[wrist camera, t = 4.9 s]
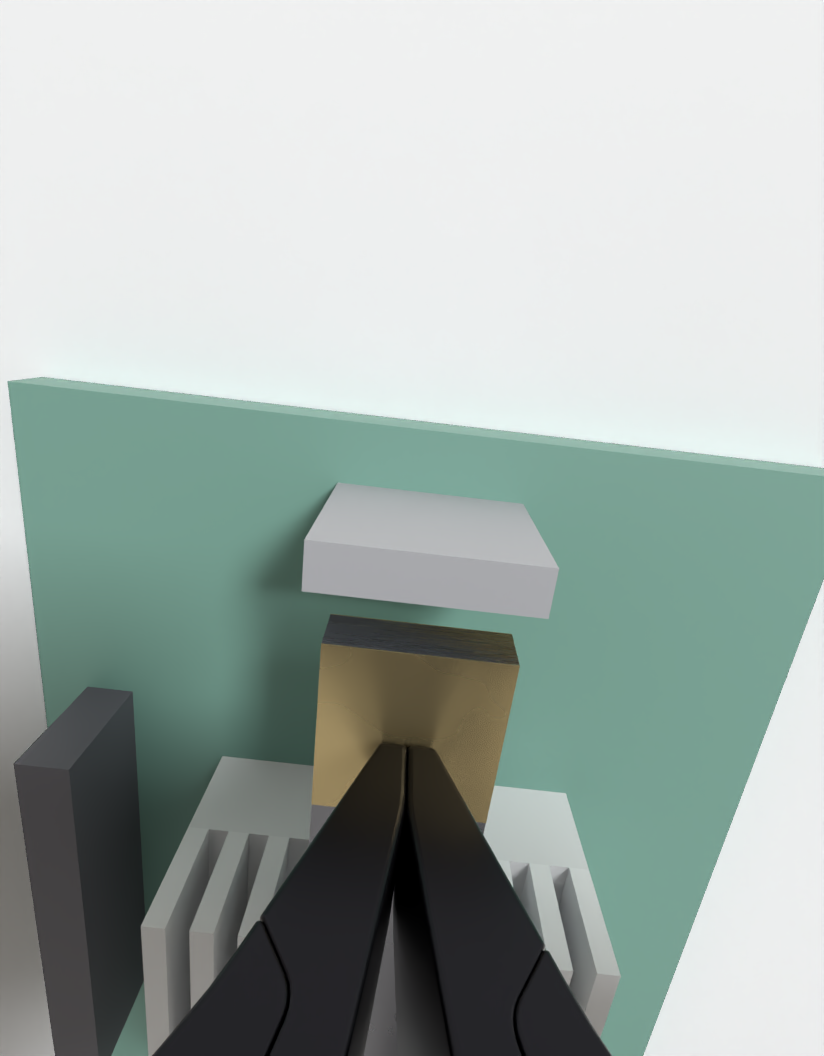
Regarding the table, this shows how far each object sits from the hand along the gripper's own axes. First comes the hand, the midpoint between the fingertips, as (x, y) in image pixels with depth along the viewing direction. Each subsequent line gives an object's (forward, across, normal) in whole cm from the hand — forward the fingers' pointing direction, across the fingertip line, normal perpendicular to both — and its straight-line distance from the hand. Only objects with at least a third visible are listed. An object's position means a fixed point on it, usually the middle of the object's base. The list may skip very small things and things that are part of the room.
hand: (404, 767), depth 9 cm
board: (+4, 0, +7) cm, 8 cm away
